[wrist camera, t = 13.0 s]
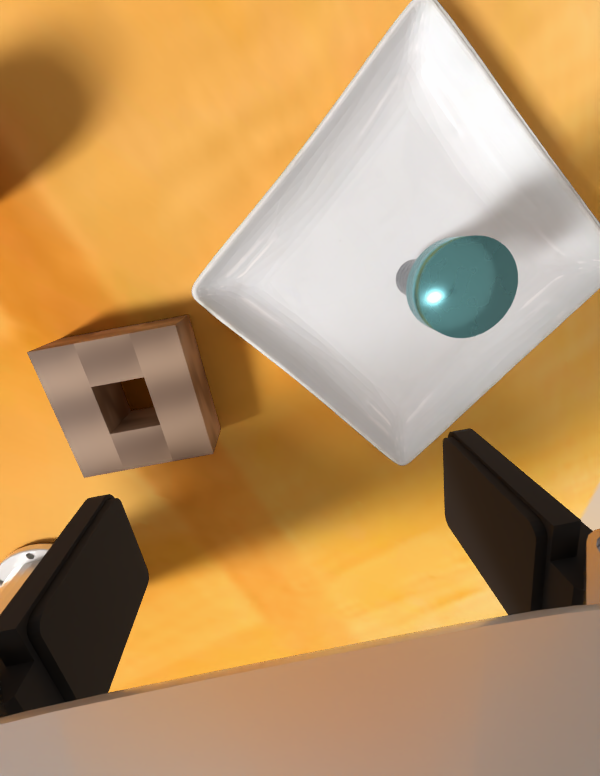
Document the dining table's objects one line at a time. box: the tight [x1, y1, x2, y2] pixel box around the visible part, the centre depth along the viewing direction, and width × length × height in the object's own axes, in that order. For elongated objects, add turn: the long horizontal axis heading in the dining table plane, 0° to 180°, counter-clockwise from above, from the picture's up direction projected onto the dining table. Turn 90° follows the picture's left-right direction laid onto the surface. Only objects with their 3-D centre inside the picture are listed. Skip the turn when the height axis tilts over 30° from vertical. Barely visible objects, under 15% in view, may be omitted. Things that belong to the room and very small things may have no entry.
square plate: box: [192, 0, 600, 465], centre depth 33 cm, size 27×27×4 cm
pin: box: [396, 235, 518, 338], centre depth 27 cm, size 6×6×10 cm
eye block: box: [27, 315, 221, 478], centre depth 34 cm, size 12×12×5 cm
